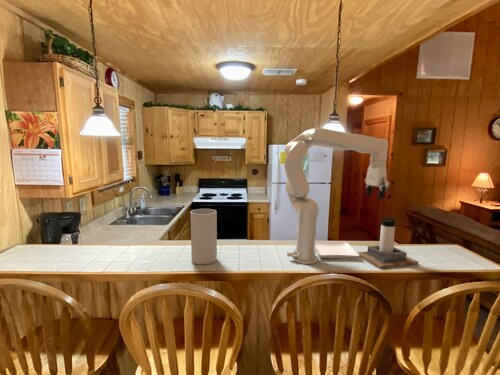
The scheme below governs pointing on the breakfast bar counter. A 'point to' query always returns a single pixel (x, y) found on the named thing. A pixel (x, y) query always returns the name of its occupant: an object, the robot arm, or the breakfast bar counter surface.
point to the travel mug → (387, 235)
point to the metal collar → (389, 257)
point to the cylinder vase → (204, 236)
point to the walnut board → (383, 265)
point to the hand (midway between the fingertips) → (374, 196)
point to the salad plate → (335, 250)
